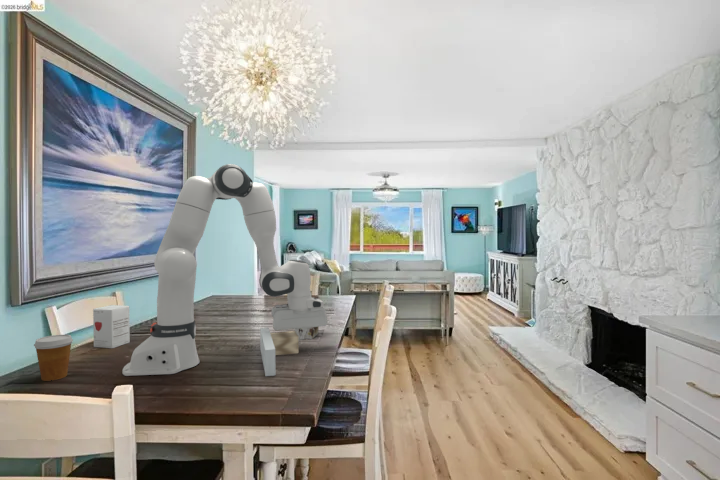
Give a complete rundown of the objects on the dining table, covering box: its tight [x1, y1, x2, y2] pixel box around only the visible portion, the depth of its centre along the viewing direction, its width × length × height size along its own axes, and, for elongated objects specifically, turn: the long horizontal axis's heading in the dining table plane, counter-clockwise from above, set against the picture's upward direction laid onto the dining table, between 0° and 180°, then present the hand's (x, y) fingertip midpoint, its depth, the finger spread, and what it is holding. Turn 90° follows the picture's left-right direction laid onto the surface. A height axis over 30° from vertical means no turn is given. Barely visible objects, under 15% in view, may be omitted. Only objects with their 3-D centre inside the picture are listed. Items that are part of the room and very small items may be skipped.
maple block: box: [270, 330, 300, 356], centre depth 150 cm, size 10×9×6 cm
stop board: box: [259, 327, 277, 377], centre depth 138 cm, size 3×30×8 cm, turn 17°
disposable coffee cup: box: [33, 334, 74, 382], centre depth 124 cm, size 10×10×12 cm
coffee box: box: [297, 296, 319, 340], centre depth 171 cm, size 9×6×16 cm
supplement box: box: [92, 304, 131, 349], centre depth 160 cm, size 9×9×15 cm
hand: (300, 339), depth 152 cm, fingers closed
